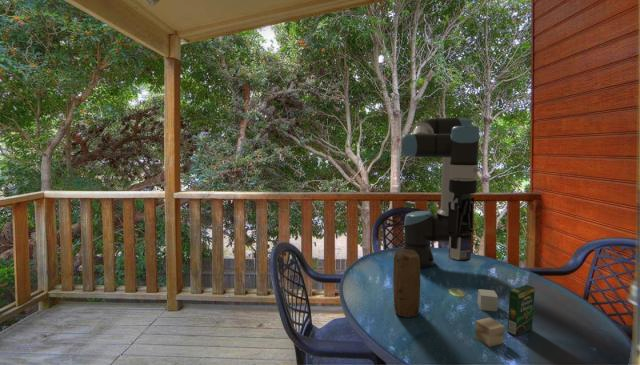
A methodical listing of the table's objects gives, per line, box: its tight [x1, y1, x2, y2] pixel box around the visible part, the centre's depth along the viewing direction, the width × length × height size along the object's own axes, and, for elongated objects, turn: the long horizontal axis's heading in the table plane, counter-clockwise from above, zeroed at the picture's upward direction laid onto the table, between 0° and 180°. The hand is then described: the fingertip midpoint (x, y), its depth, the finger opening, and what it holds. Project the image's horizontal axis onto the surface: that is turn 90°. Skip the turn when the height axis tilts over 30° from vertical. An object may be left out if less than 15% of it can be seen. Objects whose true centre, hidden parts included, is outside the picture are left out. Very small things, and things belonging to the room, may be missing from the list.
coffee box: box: [507, 284, 536, 338], centre depth 99 cm, size 8×3×13 cm, turn 118°
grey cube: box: [477, 288, 499, 312], centre depth 114 cm, size 5×5×5 cm
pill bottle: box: [448, 221, 473, 263], centre depth 102 cm, size 6×6×11 cm
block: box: [392, 248, 421, 318], centre depth 111 cm, size 11×8×20 cm
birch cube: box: [474, 317, 505, 348], centre depth 95 cm, size 5×5×5 cm
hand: (459, 255), depth 103 cm, fingers closed on pill bottle, 6 cm apart
